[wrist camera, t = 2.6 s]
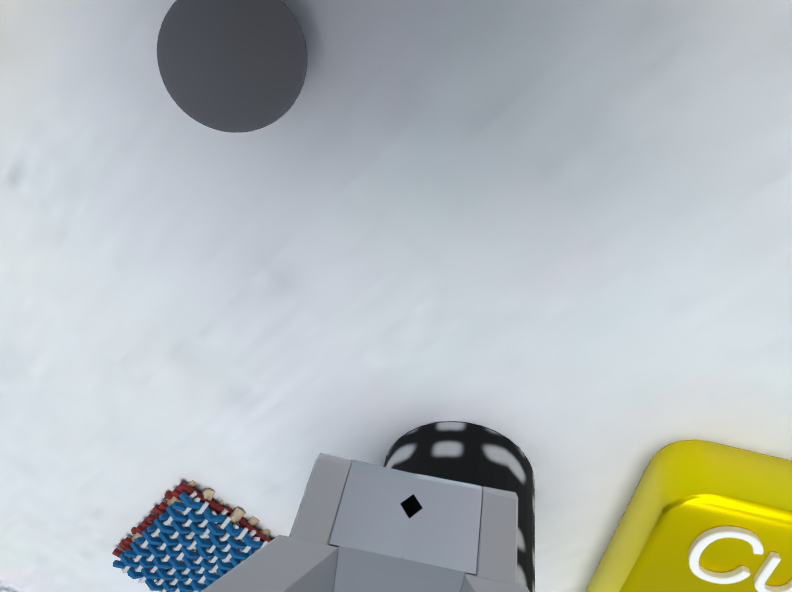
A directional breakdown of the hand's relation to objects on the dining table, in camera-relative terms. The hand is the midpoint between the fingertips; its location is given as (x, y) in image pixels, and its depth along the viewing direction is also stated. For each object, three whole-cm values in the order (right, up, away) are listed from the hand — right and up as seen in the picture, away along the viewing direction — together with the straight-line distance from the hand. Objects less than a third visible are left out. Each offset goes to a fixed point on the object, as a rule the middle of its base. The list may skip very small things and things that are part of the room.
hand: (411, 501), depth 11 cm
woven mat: (-12, -13, +38) cm, 42 cm away
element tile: (+19, -11, +31) cm, 38 cm away
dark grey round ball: (-6, +12, +17) cm, 22 cm away
